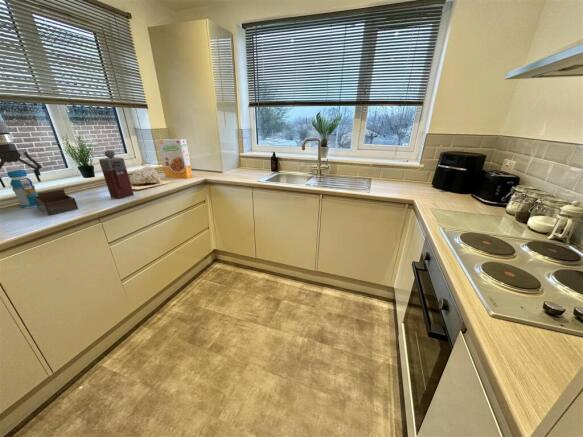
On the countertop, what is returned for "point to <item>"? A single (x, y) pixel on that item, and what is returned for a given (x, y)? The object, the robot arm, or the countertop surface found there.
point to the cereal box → (175, 158)
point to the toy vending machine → (116, 176)
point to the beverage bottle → (23, 188)
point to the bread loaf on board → (146, 178)
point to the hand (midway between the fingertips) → (22, 184)
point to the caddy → (55, 202)
